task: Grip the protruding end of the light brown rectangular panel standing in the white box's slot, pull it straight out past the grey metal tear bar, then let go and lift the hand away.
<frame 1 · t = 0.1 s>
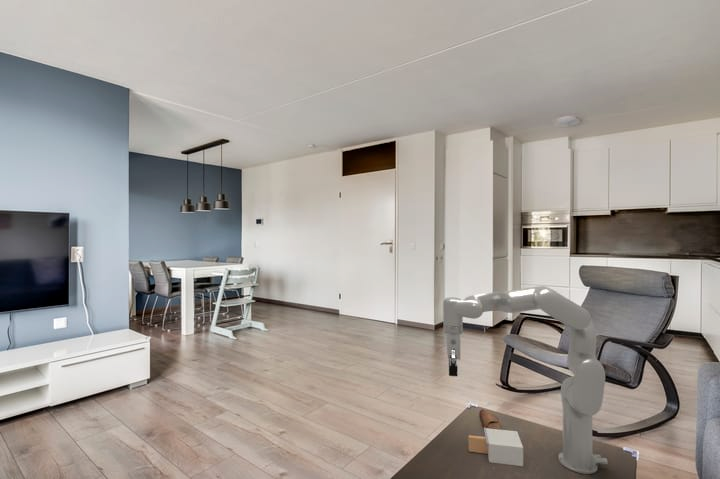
hand: (452, 371, 149), 31 cm above the table, tool pointing down, fingers open, 9 cm apart
sunglasses case: (491, 426, 168), on the table
white box: (503, 455, 145), on the table
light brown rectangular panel: (485, 445, 146), point 3 cm above the table, slide at 0.0 cm
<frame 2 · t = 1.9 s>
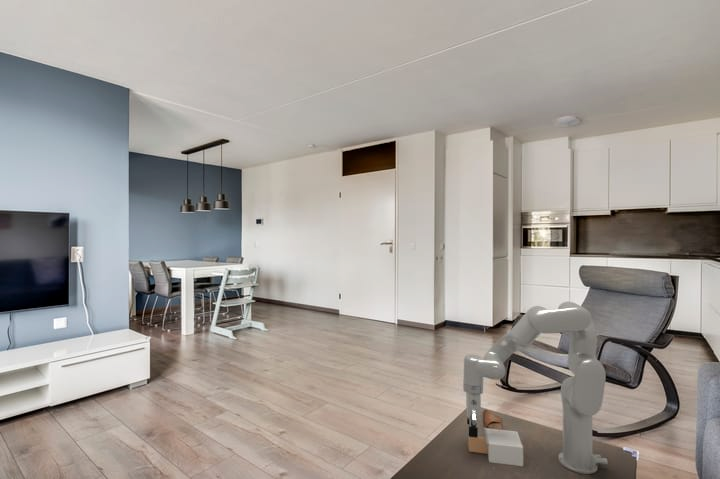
hand: (472, 430, 147), 8 cm above the table, tool pointing down, fingers open, 9 cm apart
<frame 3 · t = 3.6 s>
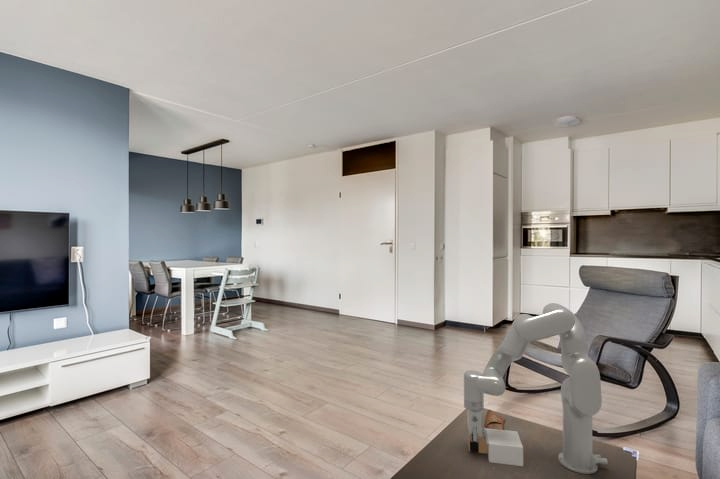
hand: (474, 449, 147), 1 cm above the table, tool pointing down, fingers closed, pressing on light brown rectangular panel
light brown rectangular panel: (485, 445, 146), point 3 cm above the table, slide at 0.0 cm, touching gripper
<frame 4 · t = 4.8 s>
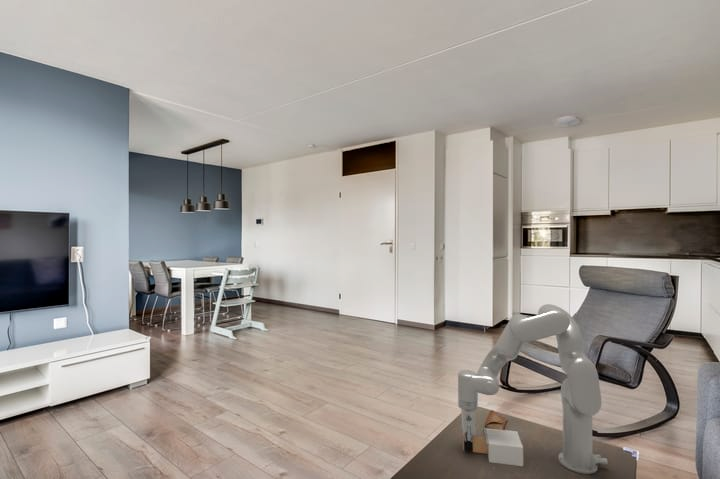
hand: (468, 449, 148), 1 cm above the table, tool pointing down, fingers closed on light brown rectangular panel
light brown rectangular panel: (480, 444, 147), point 3 cm above the table, slide at 2.2 cm, touching gripper
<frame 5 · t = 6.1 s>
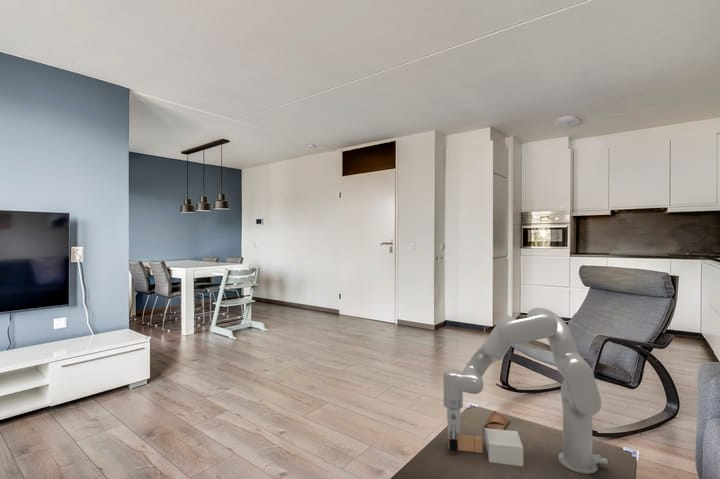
hand: (453, 447, 149), 1 cm above the table, tool pointing down, fingers closed on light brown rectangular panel
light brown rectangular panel: (465, 442, 148), point 3 cm above the table, slide at 7.9 cm, touching gripper
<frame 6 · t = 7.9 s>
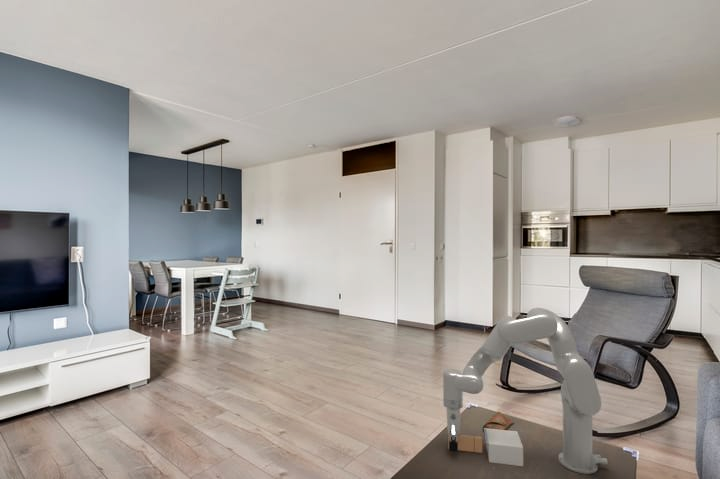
hand: (453, 444, 149), 2 cm above the table, tool pointing down, fingers open, 9 cm apart
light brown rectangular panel: (464, 442, 148), point 3 cm above the table, slide at 8.0 cm
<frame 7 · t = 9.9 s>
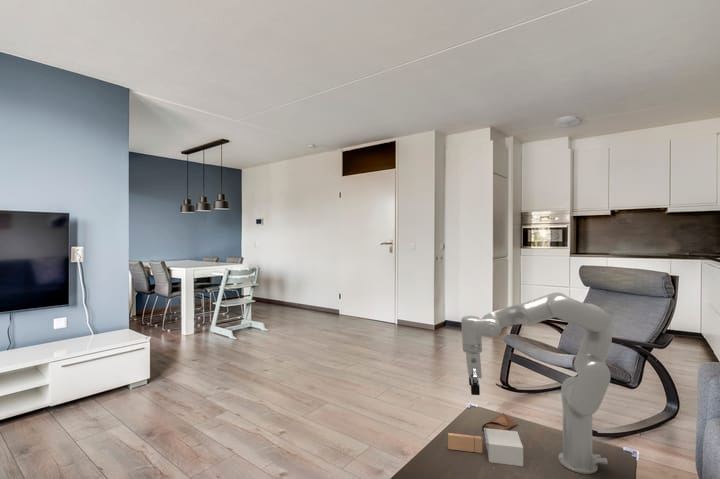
hand: (474, 389, 150), 23 cm above the table, tool pointing down, fingers open, 9 cm apart
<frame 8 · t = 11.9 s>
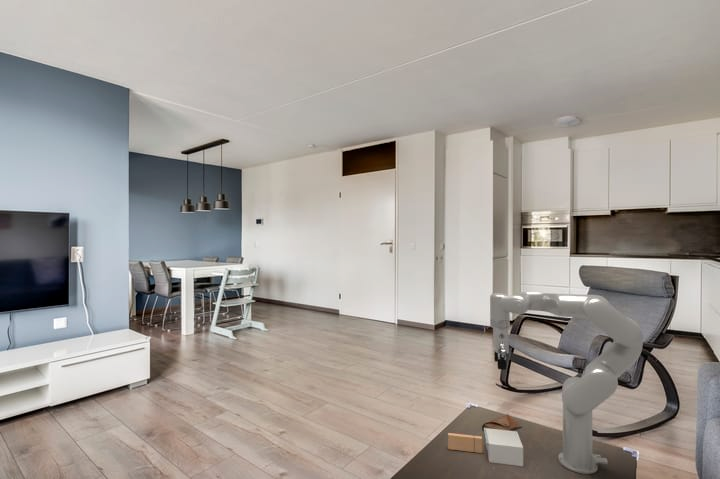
hand: (500, 365, 153), 32 cm above the table, tool pointing down, fingers open, 9 cm apart
at the end: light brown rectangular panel slide at 8.0 cm; the gripper is holding nothing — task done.
